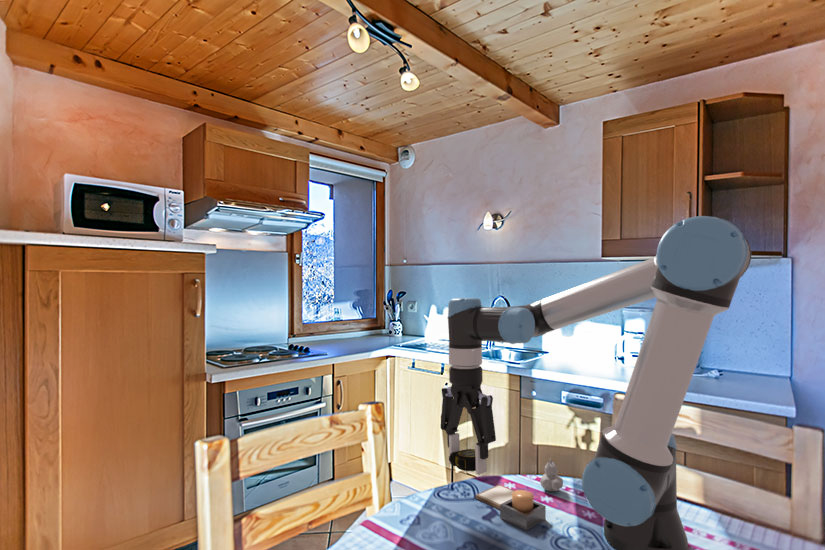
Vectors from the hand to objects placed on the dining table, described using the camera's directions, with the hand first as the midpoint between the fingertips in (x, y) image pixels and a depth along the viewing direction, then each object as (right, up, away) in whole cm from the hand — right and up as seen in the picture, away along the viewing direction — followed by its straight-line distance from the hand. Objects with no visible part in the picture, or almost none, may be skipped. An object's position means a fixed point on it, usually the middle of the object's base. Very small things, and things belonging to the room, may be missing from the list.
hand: (467, 467), depth 104 cm
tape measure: (0, -1, 0) cm, 1 cm away
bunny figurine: (+23, -11, +12) cm, 28 cm away
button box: (+12, -11, -2) cm, 16 cm away
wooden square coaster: (+9, -11, +7) cm, 16 cm away
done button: (+12, -8, -2) cm, 15 cm away
